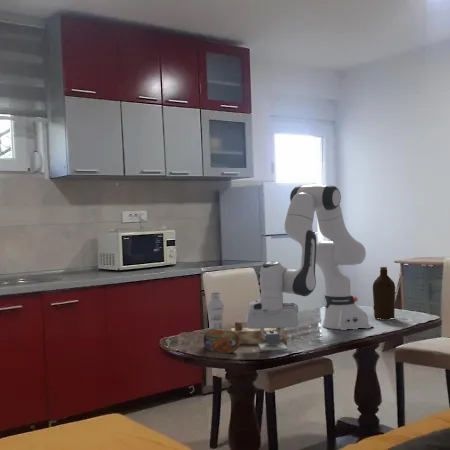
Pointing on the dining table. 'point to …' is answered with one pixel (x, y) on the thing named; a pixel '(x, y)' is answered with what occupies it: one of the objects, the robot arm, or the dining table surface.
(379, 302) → the olive oil
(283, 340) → the body
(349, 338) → the dining table surface
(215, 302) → the plastic bottle
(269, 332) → the lever cap
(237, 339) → the tin
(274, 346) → the mat
